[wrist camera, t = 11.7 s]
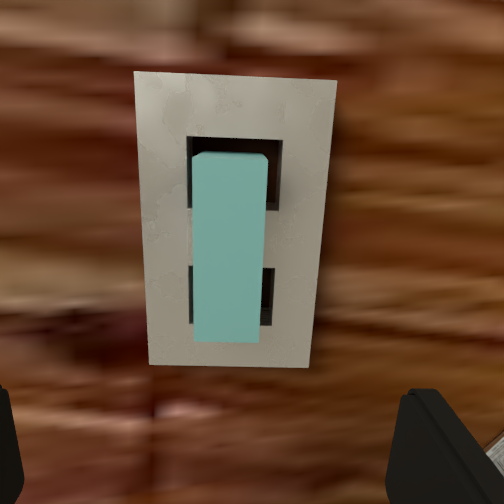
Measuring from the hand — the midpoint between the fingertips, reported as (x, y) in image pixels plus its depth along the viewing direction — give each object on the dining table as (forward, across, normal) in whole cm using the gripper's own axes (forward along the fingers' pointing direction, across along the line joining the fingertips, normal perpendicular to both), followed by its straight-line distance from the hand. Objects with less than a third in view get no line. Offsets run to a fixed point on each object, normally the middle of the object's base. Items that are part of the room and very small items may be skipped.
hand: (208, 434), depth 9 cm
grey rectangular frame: (+20, 0, 0) cm, 20 cm away
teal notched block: (+20, 0, 0) cm, 20 cm away
